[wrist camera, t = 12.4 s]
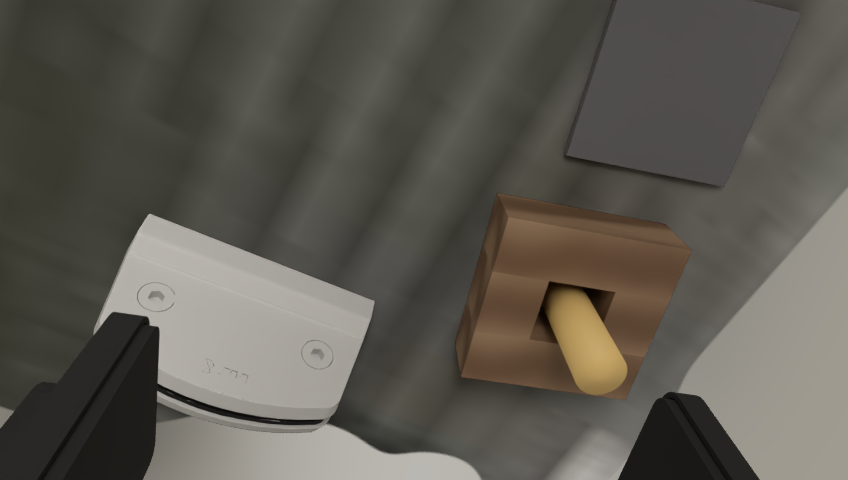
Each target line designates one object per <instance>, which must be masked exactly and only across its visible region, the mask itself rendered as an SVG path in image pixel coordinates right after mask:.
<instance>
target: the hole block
mask: <svg viewBox="0 0 848 480" xmlns="http://www.w3.org/2000/svg"><path fill="white" fill-rule="evenodd" d="M691 252H692V250H691V249H690V248H689V247H688V246H687V245H686V244H685V243H684V242H683V241H682V240H681V239H680V238H679V237H678V236H677V235H676V234H675V233H674V232H673V231H672V230H671V229H670V228H669V227H668V226H667V225H666V224H661V223H655V222H650V221H644V220H639V219H634V218H628V217H623V216H618V215H612V214H607V213H601V212H596V211H591V210H585V209H580V208H575V207H569V206H564V205H559V204H553V203H548V202H542V201H537V200H532V199H526V198H521V197H516V196H510V195H505V194H499V193H497V197H496V200H495V204H494V207H493V211H492V214H491V218H490V221H489V225H488V228H487V232H486V235H485V239H484V242H483V246H482V249H481V253H480V256H479V260H478V263H477V267H476V270H475V274H474V277H473V281H472V284H471V288H470V291H469V295H468V299H467V302H466V306H465V309H464V313H463V316H462V320H461V323H460V327H459V330H458V334H457V337H456V341H455V346H456V351H457V357H458V363H459V368H460V374H461V377H465V378H472V379H479V380H486V381H493V382H500V383H508V384H515V385H522V386H529V387H536V388H543V389H550V390H557V391H564V392H572V393H579V394H586V395H592V394H588V393H585V392H583V391H582V390H581V389H579V387H578V386H577V385H576V383H575V380H574V378H573V376H572V373H571V371H570V369H569V366H568V364H567V362H566V359H565V357H564V355H563V352H562V350H561V348H560V345H559V343H558V341H557V339H556V336H555V334H554V332H553V329H552V327H551V325H550V322H549V320H548V318H547V315H546V313H545V312H542V311H539V310H540V307H541V304H542V301H543V298H544V295H545V292H546V290H547V287H548V284H549V281H552V282H558V283H564V284H570V285H576V286H581V287H587V289H586V294H587V296H588V298H589V299H590V301H591V303H592V305H593V306H594V308H595V310H596V312H597V313H598V315H599V317H600V319H601V320H602V322H603V324H604V325H605V327H606V329H607V331H608V332H609V334H610V336H611V338H612V339H613V341H614V343H615V345H616V346H617V348H618V350H619V352H620V353H621V355H622V357H623V359H624V360H625V362H626V364H627V375H626V378H625V380H624V381H623V383H622V384H621V385H620V386H619V387H618V388H616V389H615V390H613V391H611V392H609V393H606V394H601V395H593V396H600V397H607V398H614V399H621V400H626V397H627V395H628V393H629V391H630V389H631V386H632V384H633V382H634V380H635V377H636V375H637V373H638V371H639V368H640V366H641V364H642V362H643V359H644V357H645V355H646V353H647V350H648V348H649V346H650V344H651V341H652V339H653V337H654V335H655V332H656V330H657V328H658V326H659V323H660V321H661V319H662V317H663V314H664V312H665V310H666V308H667V305H668V303H669V301H670V299H671V296H672V294H673V292H674V290H675V288H676V285H677V283H678V281H679V279H680V276H681V274H682V272H683V270H684V267H685V265H686V263H687V261H688V258H689V256H690V254H691Z"/></svg>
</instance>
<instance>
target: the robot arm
mask: <svg viewBox="0 0 848 480" xmlns="http://www.w3.org/2000/svg"><path fill="white" fill-rule="evenodd" d="M159 338H160V330H159V327H158V326H151V325H150V321H149V318H148V317H147V316H140V315H134V314H127V313H120V312H112V313H111V314H110V315H109V316H108V317H107V319H106V320H105V321H104V322H103V324H102V325H101V326H100V328H99V329H98V330H97V332H96V333H95V334H94V336H93V337H92V338H91V340H90V341H89V342H88V344H87V345H86V346H85V348H84V349H83V350H82V352H81V353H80V354H79V356H78V357H77V358H76V360H75V361H74V362H73V363H72V365H71V366H70V367H69V369H68V370H67V371H66V373H65V374H64V375H63V377H62V378H61V379H60V381H59V382H58V383H57V384H55V383H47V382H42V383H40V384H38V385H36V386H35V387H34V388H33V389H32V390H31V391H30V392H29V394H28V395H27V396H26V397H25V399H24V400H23V401H22V402H21V404H20V405H19V406H18V407H17V409H16V410H15V411H14V413H13V414H12V415H11V416H10V418H9V419H8V420H7V421H6V422H5V424H4V425H3V426H2V427H1V429H0V480H143V478H144V476H145V473H146V471H147V469H148V467H149V465H150V462H151V459H152V456H153V452H154V446H155V435H156V411H157V386H158V362H159ZM618 480H759V478H758V477H757V475H756V474H755V473H754V471H753V470H752V469H751V467H750V465H749V464H748V463H747V461H746V460H745V458H744V457H743V456H742V454H741V453H740V451H739V450H738V448H737V447H736V446H735V444H734V443H733V441H732V440H731V438H730V437H729V436H728V434H727V433H726V431H725V430H724V429H723V427H722V426H721V424H720V423H719V421H718V420H717V419H716V417H715V416H714V414H713V413H712V412H711V411H710V409H709V407H708V406H707V404H706V403H705V402H704V400H703V399H702V398H701V397H699V396H696V395H689V394H682V393H675V392H668V393H667V394H665V395H664V396H663V398H658V399H657V400H656V401H655V403H654V404H653V406H652V409H651V411H650V413H649V415H648V417H647V419H646V421H645V423H644V426H643V428H642V430H641V432H640V434H639V436H638V438H637V440H636V442H635V445H634V447H633V449H632V451H631V453H630V455H629V457H628V459H627V462H626V464H625V466H624V468H623V470H622V472H621V474H620V477H619V479H618Z"/></svg>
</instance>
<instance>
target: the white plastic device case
mask: <svg viewBox="0 0 848 480" xmlns="http://www.w3.org/2000/svg"><path fill="white" fill-rule="evenodd" d="M374 302H375V301H373V300H370V299H368V298H365V297H363V296H360V295H357V294H355V293H352V292H350V291H347V290H345V289H342V288H339V287H337V286H334V285H332V284H329V283H327V282H324V281H321V280H319V279H316V278H314V277H311V276H309V275H306V274H303V273H301V272H298V271H296V270H293V269H290V268H288V267H285V266H283V265H280V264H278V263H275V262H272V261H270V260H267V259H265V258H262V257H260V256H257V255H254V254H252V253H249V252H247V251H244V250H242V249H239V248H236V247H234V246H231V245H229V244H226V243H224V242H221V241H218V240H216V239H213V238H211V237H208V236H206V235H203V234H200V233H198V232H195V231H193V230H190V229H188V228H185V227H182V226H180V225H177V224H175V223H172V222H170V221H167V220H164V219H162V218H159V217H157V216H154V215H152V214H149V215H148V216H147V218H146V219H145V221H144V222H143V224H142V225H141V227H140V228H139V230H138V232H137V234H136V236H135V237H134V239H133V241H132V243H131V244H130V246H129V248H128V250H127V252H126V255H125V257H124V259H123V262H122V264H121V266H120V269H119V271H118V273H117V276H116V278H115V280H114V283H113V285H112V288H111V290H110V292H109V295H108V297H107V299H106V302H105V304H104V306H103V309H102V311H101V314H100V316H99V318H98V321H97V323H96V325H95V328H94V334H95V333H96V332H97V330H98V329H99V328H100V326H101V325H102V324H103V322H104V321H105V320H106V319H107V317H108V316H109V315H110V314H111V313H112V312H120V313H127V314H134V315H140V316H147V317H148V318H149V321H150V325H151V326H158V327H159V330H160V338H159V362H158V386H157V402H159V403H161V404H164V405H166V406H168V407H170V408H173V409H175V410H177V411H180V412H182V413H185V414H188V415H190V416H193V417H196V418H199V419H203V420H206V421H209V422H213V423H216V424H220V425H225V426H230V427H234V428H240V429H246V430H252V431H261V432H272V433H302V432H312V431H315V430H317V429H318V428H320V427H322V426H323V425H325V424H326V423H327V422H328V420H329V419H330V417H331V416H332V415H333V414H334V413H335V411H336V409H337V407H338V404H339V402H340V399H341V397H342V394H343V392H344V389H345V387H346V384H347V382H348V379H349V376H350V374H351V371H352V368H353V366H354V363H355V361H356V358H357V355H358V353H359V350H360V347H361V345H362V342H363V340H364V337H365V334H366V331H367V329H368V326H369V323H370V320H371V317H372V312H373V307H374Z"/></svg>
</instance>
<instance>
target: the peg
mask: <svg viewBox="0 0 848 480" xmlns="http://www.w3.org/2000/svg"><path fill="white" fill-rule="evenodd" d="M542 306H543V308H544V311H545V313H546V315H547V318H548V320H549V322H550V325H551V327H552V329H553V332H554V334H555V336H556V339H557V341H558V343H559V345H560V348H561V350H562V352H563V355H564V357H565V359H566V362H567V364H568V366H569V369H570V371H571V373H572V376H573V378H574V380H575V383H576V385H577V386H578V387H579V389H581V390H582V391H583V392H585V393H588V394H592V395H601V394H606V393H609V392H611V391H613V390H615V389H616V388H618V387H619V386H620V385H621V384H622V383H623V381H624V380H625V378H626V375H627V364H626V362H625V360H624V359H623V357H622V355H621V353H620V352H619V350H618V348H617V346H616V345H615V343H614V341H613V339H612V338H611V336H610V334H609V332H608V331H607V329H606V327H605V325H604V324H603V322H602V320H601V319H600V317H599V315H598V313H597V312H596V310H595V308H594V306H593V305H592V303H591V301H590V299H589V298H588V296H587V294H586V292H585V291H584V289H583V287H581V286H576V285H570V284H564V283H558V282H552V281H549V284H548V287H547V290H546V292H545V295H544V298H543V301H542Z"/></svg>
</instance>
